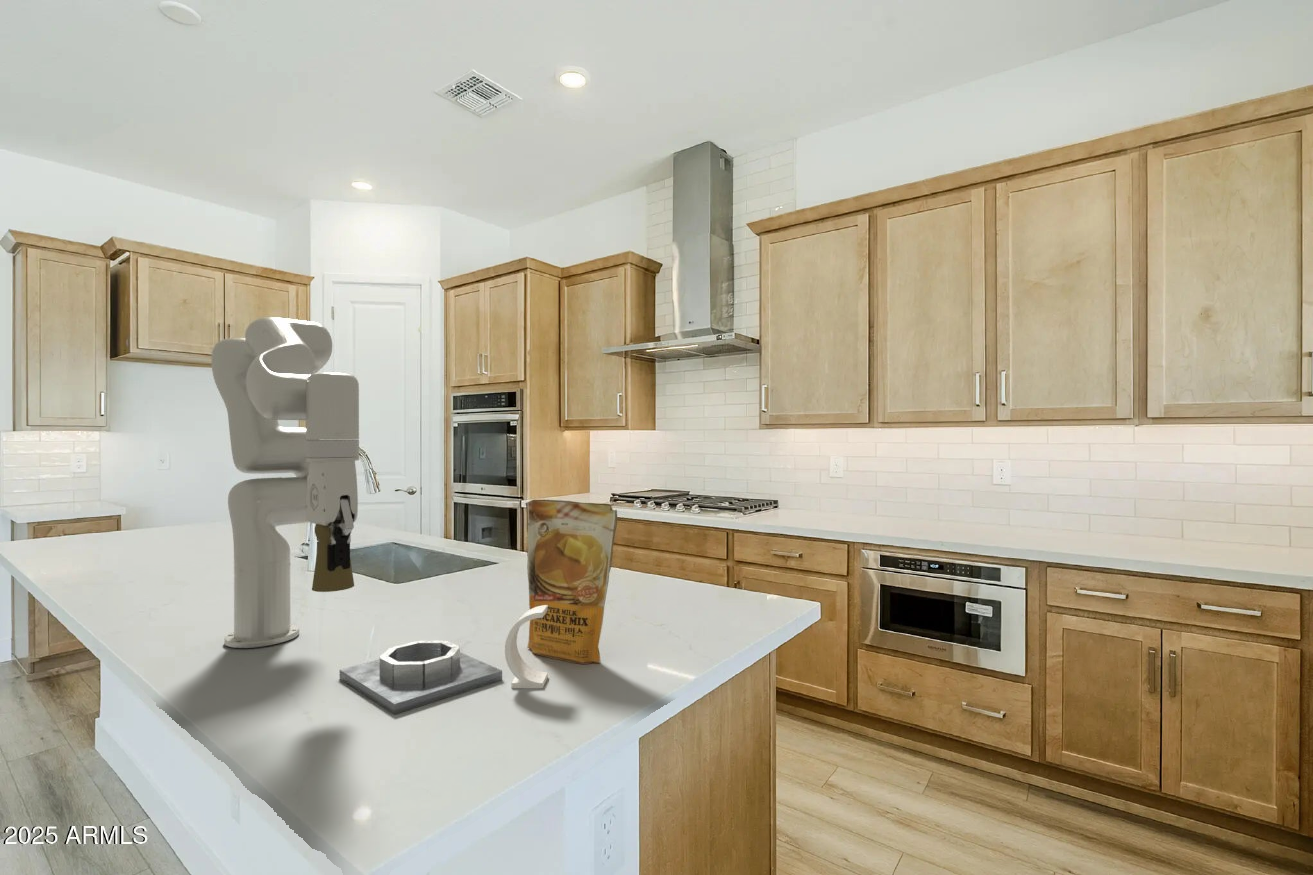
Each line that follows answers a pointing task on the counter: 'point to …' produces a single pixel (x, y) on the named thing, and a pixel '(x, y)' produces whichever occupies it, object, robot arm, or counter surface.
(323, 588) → the cork
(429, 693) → the plate
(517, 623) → the headphone stand
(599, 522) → the pancake mix bag
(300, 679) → the counter surface
